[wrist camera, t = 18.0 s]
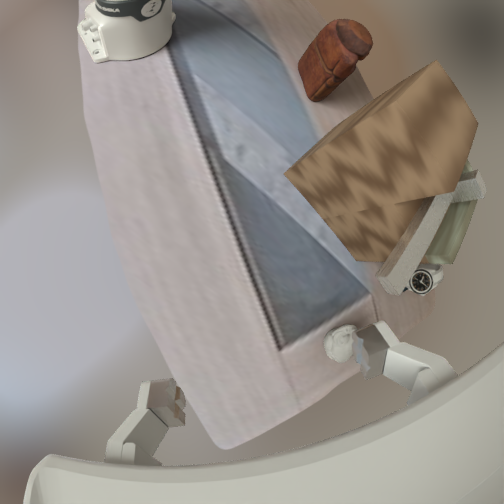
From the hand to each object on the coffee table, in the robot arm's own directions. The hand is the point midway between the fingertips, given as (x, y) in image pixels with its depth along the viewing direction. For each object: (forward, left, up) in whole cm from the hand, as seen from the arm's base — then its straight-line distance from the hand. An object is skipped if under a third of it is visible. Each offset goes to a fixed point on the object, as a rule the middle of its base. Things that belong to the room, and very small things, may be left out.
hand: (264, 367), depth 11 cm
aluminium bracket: (+12, +23, -12) cm, 28 cm away
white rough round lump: (+23, +9, -30) cm, 38 cm away
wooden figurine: (-13, +42, -30) cm, 53 cm away
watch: (+27, +28, -30) cm, 49 cm away
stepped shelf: (+7, +30, -29) cm, 42 cm away
